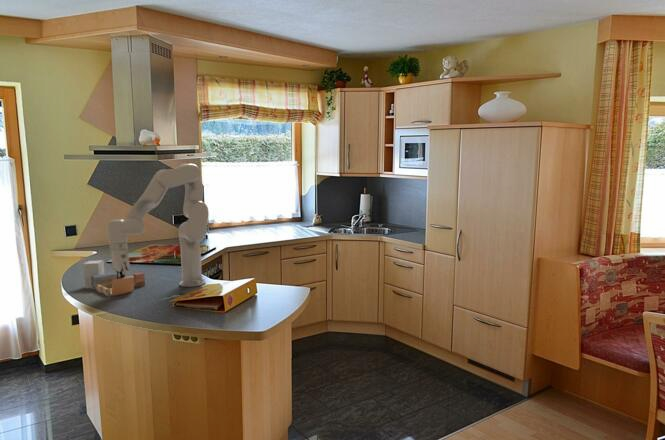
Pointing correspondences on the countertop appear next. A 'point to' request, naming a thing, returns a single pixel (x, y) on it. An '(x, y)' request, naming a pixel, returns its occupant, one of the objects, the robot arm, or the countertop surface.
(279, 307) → the countertop surface
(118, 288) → the panel
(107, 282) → the truck bed
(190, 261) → the robot arm
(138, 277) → the block
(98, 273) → the supplement box
